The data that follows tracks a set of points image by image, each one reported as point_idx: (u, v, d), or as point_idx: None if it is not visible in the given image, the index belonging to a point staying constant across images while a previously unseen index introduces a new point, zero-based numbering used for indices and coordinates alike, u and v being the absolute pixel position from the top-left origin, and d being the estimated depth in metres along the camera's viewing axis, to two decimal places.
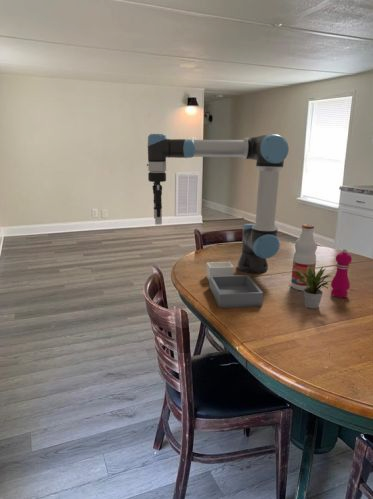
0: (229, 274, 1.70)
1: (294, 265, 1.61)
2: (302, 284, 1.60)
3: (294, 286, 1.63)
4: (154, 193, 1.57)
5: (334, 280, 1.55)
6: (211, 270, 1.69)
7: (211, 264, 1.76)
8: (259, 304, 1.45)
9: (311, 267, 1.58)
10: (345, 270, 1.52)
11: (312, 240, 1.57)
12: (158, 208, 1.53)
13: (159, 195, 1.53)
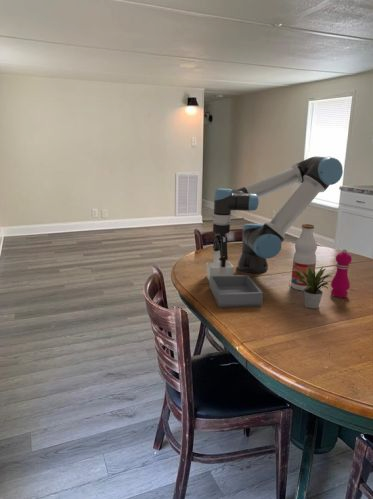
0: (229, 274, 1.70)
1: (294, 265, 1.61)
2: (302, 284, 1.60)
3: (294, 286, 1.63)
4: (219, 244, 1.66)
5: (334, 280, 1.55)
6: (211, 270, 1.69)
7: (211, 264, 1.76)
8: (259, 304, 1.45)
9: (311, 267, 1.58)
10: (345, 270, 1.52)
11: (312, 240, 1.57)
12: (224, 259, 1.62)
13: (225, 247, 1.62)
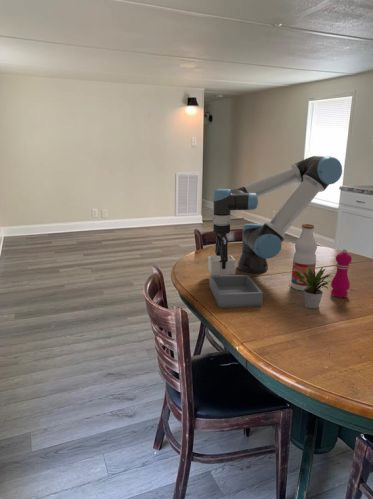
0: (231, 267, 1.69)
1: (294, 265, 1.61)
2: (302, 284, 1.60)
3: (294, 286, 1.63)
4: (219, 245, 1.67)
5: (334, 280, 1.55)
6: (212, 264, 1.68)
7: (212, 258, 1.75)
8: (259, 304, 1.45)
9: (311, 267, 1.58)
10: (345, 270, 1.52)
11: (312, 240, 1.57)
12: (224, 261, 1.65)
13: (225, 249, 1.64)
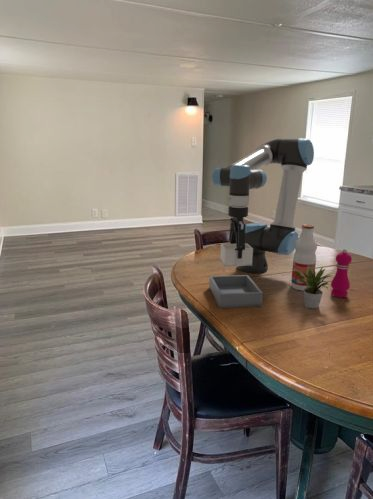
0: (247, 257, 1.46)
1: (294, 265, 1.61)
2: (302, 284, 1.60)
3: (294, 286, 1.63)
4: (235, 231, 1.43)
5: (334, 280, 1.55)
6: (226, 252, 1.44)
7: (226, 246, 1.51)
8: (259, 304, 1.45)
9: (311, 267, 1.58)
10: (345, 270, 1.52)
11: (312, 240, 1.57)
12: (240, 249, 1.42)
13: (243, 236, 1.40)
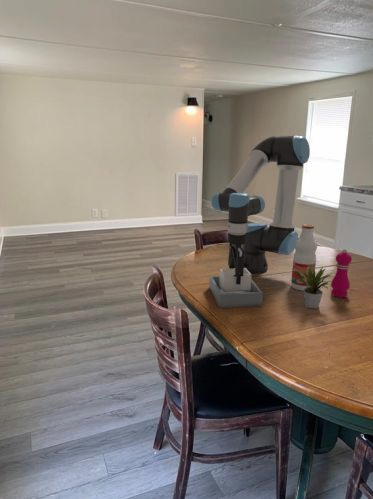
0: (246, 282, 1.49)
1: (294, 265, 1.61)
2: (302, 284, 1.60)
3: (294, 286, 1.63)
4: (234, 257, 1.46)
5: (334, 280, 1.55)
6: (225, 278, 1.47)
7: (225, 271, 1.54)
8: (259, 304, 1.45)
9: (311, 267, 1.58)
10: (345, 270, 1.52)
11: (312, 240, 1.57)
12: (239, 276, 1.44)
13: (241, 262, 1.43)
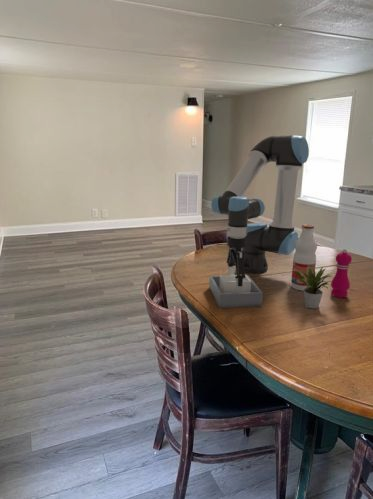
0: (246, 289, 1.50)
1: (294, 265, 1.61)
2: (302, 284, 1.60)
3: (294, 286, 1.63)
4: (235, 260, 1.46)
5: (334, 280, 1.55)
6: (225, 285, 1.48)
7: (225, 277, 1.55)
8: (259, 304, 1.45)
9: (311, 267, 1.58)
10: (345, 270, 1.52)
11: (312, 240, 1.57)
12: (241, 278, 1.42)
13: (242, 264, 1.42)
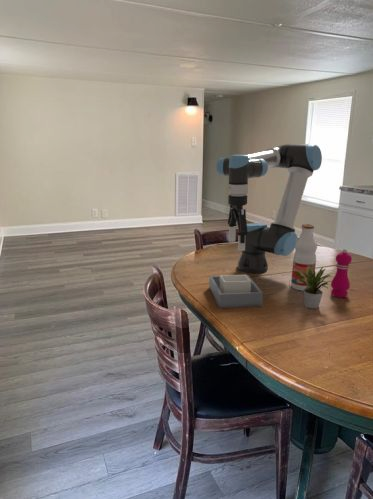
0: (246, 289, 1.50)
1: (294, 265, 1.61)
2: (302, 284, 1.60)
3: (294, 286, 1.63)
4: (236, 218, 1.48)
5: (334, 280, 1.55)
6: (225, 285, 1.48)
7: (225, 277, 1.55)
8: (259, 304, 1.45)
9: (311, 267, 1.58)
10: (345, 270, 1.52)
11: (312, 240, 1.57)
12: (243, 234, 1.44)
13: (244, 220, 1.44)
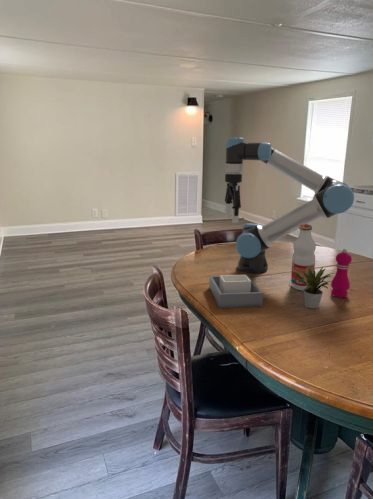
0: (246, 289, 1.50)
1: (293, 266, 1.60)
2: (302, 285, 1.60)
3: (294, 286, 1.62)
4: (231, 193, 1.67)
5: (334, 280, 1.55)
6: (225, 285, 1.48)
7: (225, 277, 1.55)
8: (259, 304, 1.45)
9: (310, 268, 1.57)
10: (345, 270, 1.52)
11: (310, 241, 1.54)
12: (237, 207, 1.63)
13: (238, 195, 1.63)
